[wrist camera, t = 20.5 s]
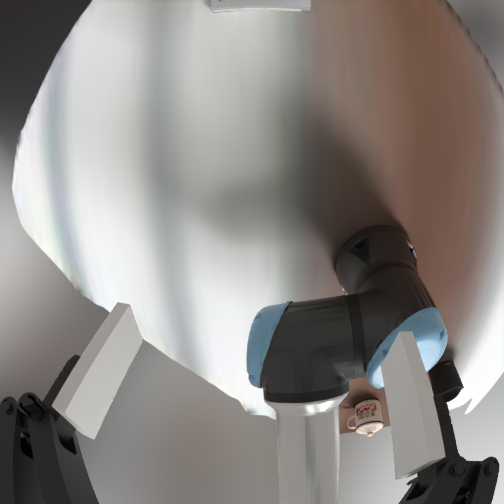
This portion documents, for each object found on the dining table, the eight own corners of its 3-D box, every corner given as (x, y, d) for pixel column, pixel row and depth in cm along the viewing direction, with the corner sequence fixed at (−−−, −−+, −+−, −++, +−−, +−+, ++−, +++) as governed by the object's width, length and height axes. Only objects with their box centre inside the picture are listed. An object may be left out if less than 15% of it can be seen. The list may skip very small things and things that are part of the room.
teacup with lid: (376, 395, 69) (381, 427, 59) (383, 405, 72) (387, 434, 62) (342, 406, 73) (343, 437, 63) (350, 415, 77) (352, 444, 67)
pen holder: (458, 364, 59) (467, 389, 50) (435, 380, 63) (442, 406, 55) (448, 355, 57) (458, 383, 48) (422, 373, 62) (430, 401, 53)
